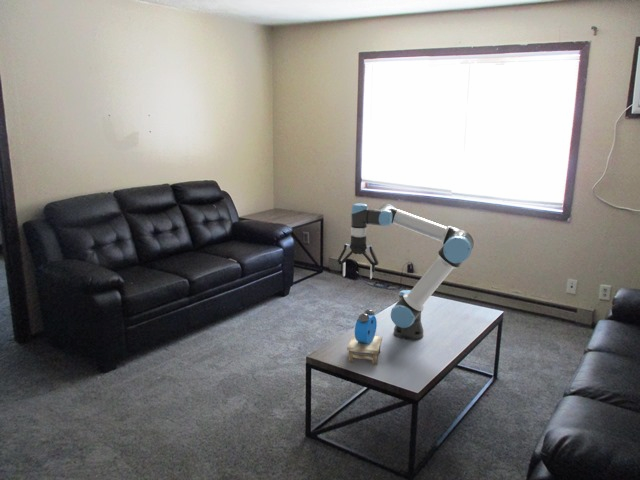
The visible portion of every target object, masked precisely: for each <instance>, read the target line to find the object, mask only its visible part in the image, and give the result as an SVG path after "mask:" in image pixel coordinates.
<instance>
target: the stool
mask: <svg viewBox="0 0 640 480" xmlns="http://www.w3.org/2000/svg"><path fill="white" fill-rule="evenodd" d="M382 342H383V336H379V335H375V336H374V339H373V341H372V342H371V343H369V344H367V343H363V342H359V344H358V341H357V340H356V339H355V333H352V336H351V339H350V340H349V343H348V345H347V347H346V350H347V351H348V363H353V362H354V358H355V359H361V360H363V359H364V360H371V362H372V366H377V364H378V354H380V353H381V346H382ZM354 352H357V353H366V354H367V353H368V354H372V355H362V354H354Z"/></svg>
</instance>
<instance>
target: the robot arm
mask: <svg viewBox="0 0 640 480" xmlns="http://www.w3.org/2000/svg"><path fill="white" fill-rule="evenodd" d="M350 215H351V219H350V220H351V222H350V224H351V225H350V244H348V243H345V244H344V245H343V250H342V252H341V253H340V255H339V256H338V258H337V261H336V262H337V263H340V269H341V271H342V277H345V276H346V261H347V260H348V259H349V258H350V257H351V256H352V254H353V255H363V256H364V257H365V259H367V262H369V264H370V270H369V280H372V278H373V273H374V272H375V270H376V269H375V267H376V266H379V260H378V258H377V256H376V253H375V252H374V248H373V247H374V246H373V245H367V236H366V235H367V226H368V225H370V226H371V225H372V226H381V227H389V226H391V224H392V225H393V224H394V225H396V226H398V227H401V228H404V229H406V230H409V231H412V232H414V233H417V234H420V235H423V236H426V237H428V238H429V239H430V238H431V239H433V240H436V241H438V242H440V243H441V244H442V247H440V249H439V250H438V252H437V258H436V259H435V261H433V263H432V264H431V265H430V267H428V269H427V270H426V272H425V273H424V274H423V275H422V277H420V278H419V280H418V281H417V283H416V284H415V285H414V286H413V288H412V289H410V290H409V289H405V290H404V289H403V290H400V291H399V292H398V293H399V294H398V300H397V302H396V303H395V305H394V306H393V307H392V309H391V311H390V319H391V321H392V323H393V324H394V328H393V335H394V336H395V337H397V338H400V339H403V340H409V341H410V340H413V341H414V340H419V339H421V338H423V337H424V333H425V331H424V327H423V324H422V313H423V311H424V304H425V303H426V302H427V301H428V299H429V298H430V297H431V296H432V295H433V294H434V293H435V291H436V290H437V289H438V288H439V286H440V285H441V284H442V283H443V282H444V281H445V279H446V278H447V277H448V275H449V274H450V273H451V272H452V271H453V269H459V268H460V266H461V265H462V264H463V263H464V262H465V261H466V260H467V259H468V258H469V257H470V256H471V254H472V250H473V248H474V239H473V236H472V235H471V234H470V233H469V232H468V231H466V230H463V229H460V228H457V227H454V226H451V225H448V226H445V225H442V224H440V223H436V222H435V221H431V220H428V219H426V218H423V217H420V216H417V215H414V214H412V213H409V212H406V211H403V210H401V209H398V208H396V207H395V206H394V205H392V204H389V203H388V204H383V205H382V206H380V207H379V208H376V209H375V208H369V207H368V205H367V204H366V203H354V204H352V206H351V213H350ZM348 249H350V250H351V251H350V252H348V254H347V255H345V253H346V251H347V250H348ZM367 250H368V251H369V253H370V255H371V256H370V255H369V254H368V253H367ZM344 255H345V256H344ZM343 256H344V258H343ZM371 257H372V258H371ZM342 258H343V259H342Z"/></svg>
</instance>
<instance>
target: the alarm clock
mask: <svg viewBox="0 0 640 480" xmlns="http://www.w3.org/2000/svg"><path fill="white" fill-rule="evenodd" d="M377 323H378V321H377V318H376V316H375V311H374V310H373V309H370V308H368V309H365V310H364V312H363V313H360V315H358V317H357V319H356V322H355V326H354V334H355V339H356V340H357V341H358V344H359V342H363V343H367V344H369V343H371V342H372V341H373V339H374V336H376V333H377V326H378V325H377Z"/></svg>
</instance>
